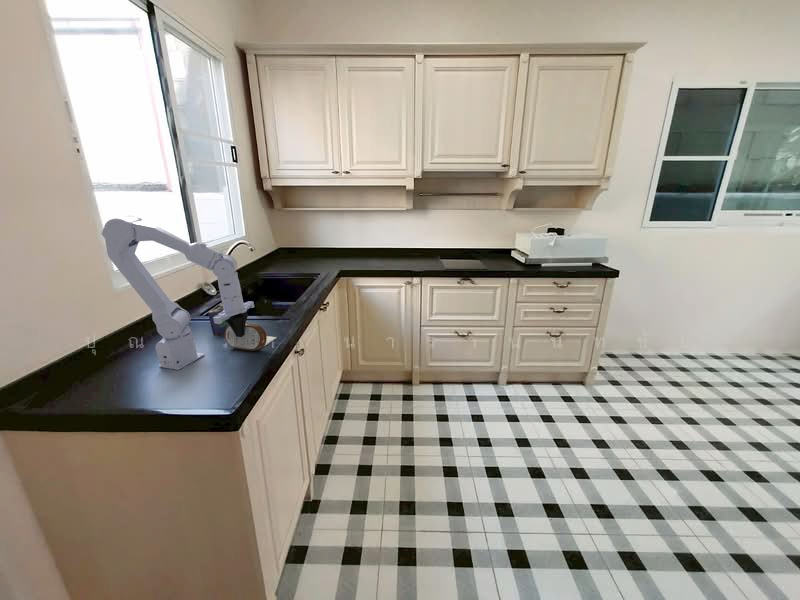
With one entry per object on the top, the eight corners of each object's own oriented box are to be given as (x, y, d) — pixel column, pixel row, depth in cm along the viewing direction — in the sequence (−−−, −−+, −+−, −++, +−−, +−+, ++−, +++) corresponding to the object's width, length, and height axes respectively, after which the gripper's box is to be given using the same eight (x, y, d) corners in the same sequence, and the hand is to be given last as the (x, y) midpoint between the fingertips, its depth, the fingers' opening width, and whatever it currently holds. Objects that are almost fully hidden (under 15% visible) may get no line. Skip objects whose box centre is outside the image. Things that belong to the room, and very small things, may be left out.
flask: (237, 326, 129) (231, 300, 125) (240, 328, 127) (235, 301, 123) (212, 334, 122) (205, 307, 119) (215, 336, 121) (208, 308, 117)
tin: (266, 351, 108) (268, 325, 108) (259, 352, 105) (261, 325, 105) (229, 345, 113) (230, 320, 113) (222, 347, 110) (223, 321, 110)
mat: (259, 349, 110) (259, 348, 110) (235, 345, 113) (235, 344, 113) (276, 338, 117) (276, 337, 117) (253, 335, 120) (252, 334, 120)
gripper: (223, 304, 95) (232, 347, 99) (258, 289, 108) (265, 328, 112) (204, 302, 97) (214, 345, 102) (241, 288, 110) (248, 326, 115)
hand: (240, 336), depth 107 cm, fingers closed
